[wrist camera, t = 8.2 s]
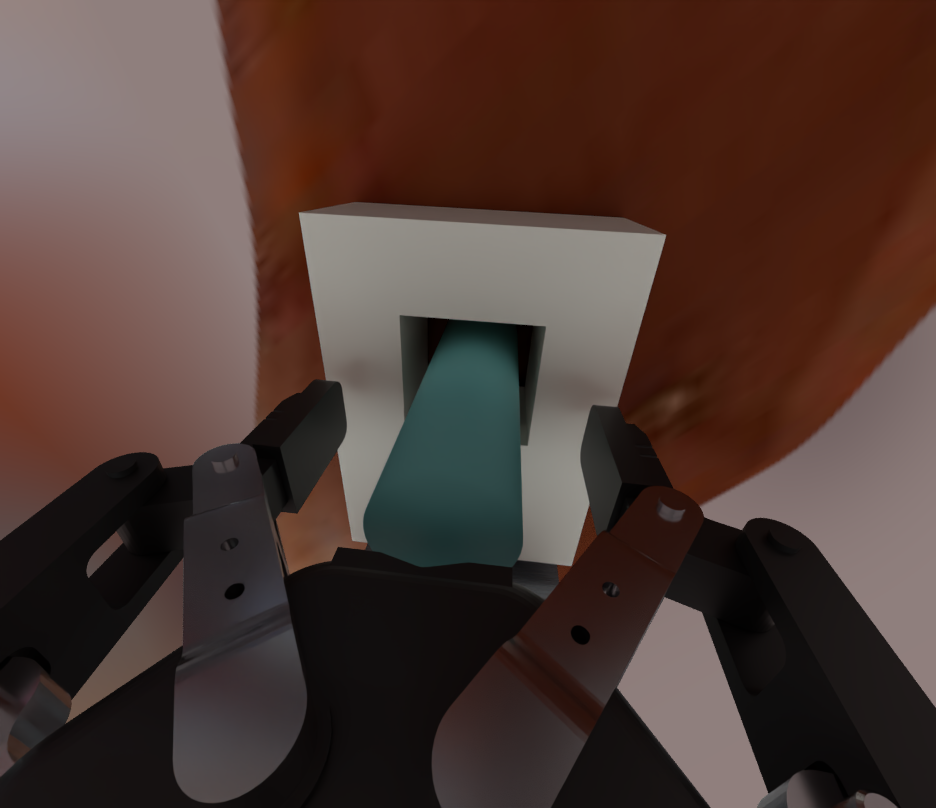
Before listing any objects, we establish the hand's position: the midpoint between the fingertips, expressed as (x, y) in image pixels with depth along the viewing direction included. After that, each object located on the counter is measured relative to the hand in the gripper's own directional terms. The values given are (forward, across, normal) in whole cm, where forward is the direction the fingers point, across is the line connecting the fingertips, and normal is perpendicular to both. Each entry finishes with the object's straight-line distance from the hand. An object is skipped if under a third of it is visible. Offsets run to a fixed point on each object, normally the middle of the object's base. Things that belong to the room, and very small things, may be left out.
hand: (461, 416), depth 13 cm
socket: (+7, 0, +2) cm, 7 cm away
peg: (+7, 0, 0) cm, 7 cm away
